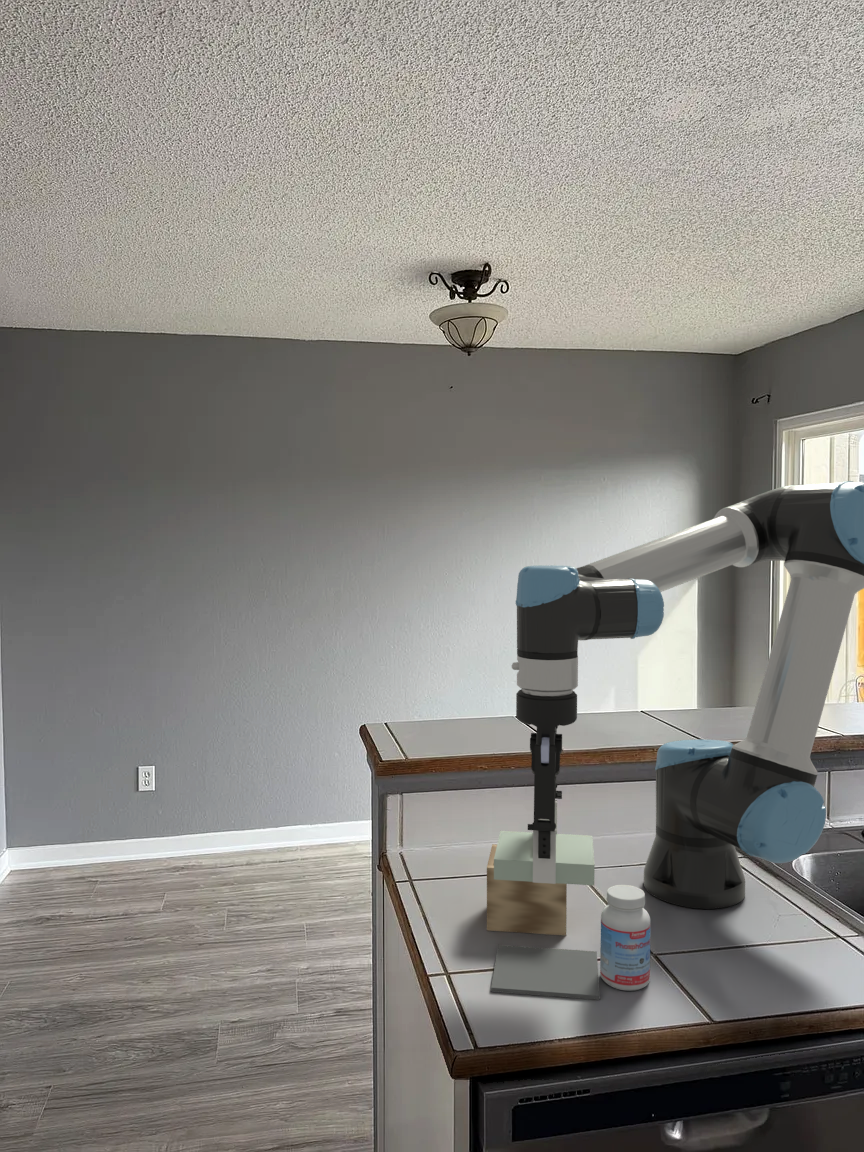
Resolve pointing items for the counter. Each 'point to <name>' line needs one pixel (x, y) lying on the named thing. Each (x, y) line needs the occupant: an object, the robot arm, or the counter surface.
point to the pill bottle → (625, 939)
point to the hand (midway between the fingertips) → (545, 864)
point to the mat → (546, 972)
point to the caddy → (524, 905)
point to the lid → (570, 858)
